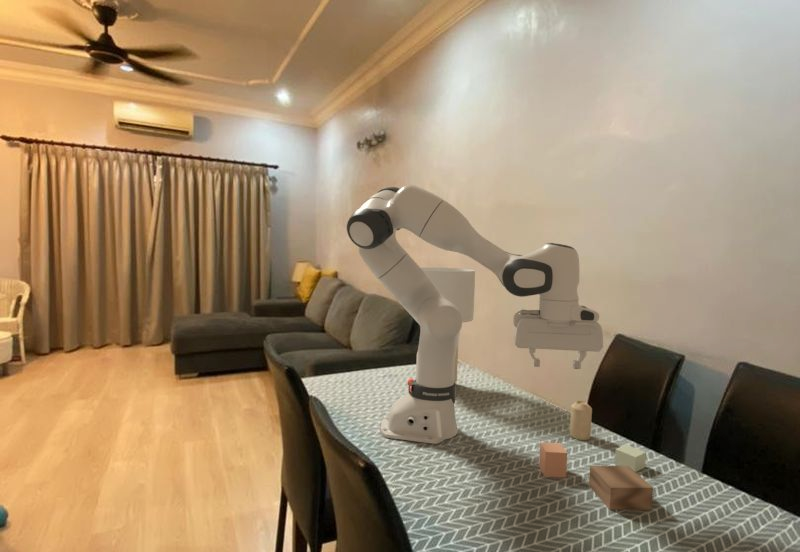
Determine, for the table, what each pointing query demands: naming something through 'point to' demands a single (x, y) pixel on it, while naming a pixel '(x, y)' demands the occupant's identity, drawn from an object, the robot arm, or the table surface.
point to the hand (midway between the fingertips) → (556, 367)
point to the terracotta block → (553, 459)
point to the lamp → (455, 292)
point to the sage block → (630, 457)
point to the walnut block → (620, 488)
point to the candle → (580, 420)
